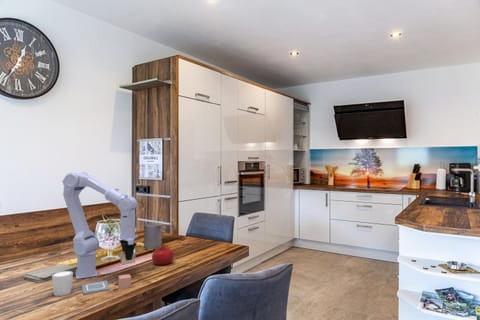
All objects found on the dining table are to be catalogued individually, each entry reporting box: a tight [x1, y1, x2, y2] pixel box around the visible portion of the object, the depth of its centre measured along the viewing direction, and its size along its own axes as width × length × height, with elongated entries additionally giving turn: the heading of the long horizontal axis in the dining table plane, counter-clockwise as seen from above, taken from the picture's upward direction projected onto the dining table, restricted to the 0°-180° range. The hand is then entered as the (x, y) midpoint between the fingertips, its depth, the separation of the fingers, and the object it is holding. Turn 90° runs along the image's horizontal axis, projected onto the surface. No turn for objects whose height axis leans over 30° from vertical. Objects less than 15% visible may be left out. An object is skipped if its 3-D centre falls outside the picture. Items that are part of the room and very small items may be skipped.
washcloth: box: [23, 263, 77, 284], centre depth 138 cm, size 12×18×3 cm, turn 153°
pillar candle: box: [143, 222, 163, 250], centre depth 182 cm, size 10×10×15 cm
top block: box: [118, 273, 132, 290], centre depth 124 cm, size 4×4×4 cm
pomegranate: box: [151, 243, 174, 266], centre depth 154 cm, size 10×10×9 cm
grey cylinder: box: [51, 271, 74, 297], centre depth 118 cm, size 7×7×7 cm
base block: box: [120, 251, 136, 265], centre depth 135 cm, size 5×5×4 cm
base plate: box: [81, 280, 111, 296], centre depth 123 cm, size 10×9×1 cm
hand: (127, 258), depth 135 cm, fingers closed on base block, 5 cm apart
